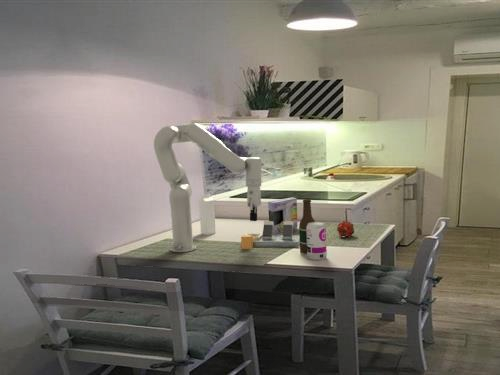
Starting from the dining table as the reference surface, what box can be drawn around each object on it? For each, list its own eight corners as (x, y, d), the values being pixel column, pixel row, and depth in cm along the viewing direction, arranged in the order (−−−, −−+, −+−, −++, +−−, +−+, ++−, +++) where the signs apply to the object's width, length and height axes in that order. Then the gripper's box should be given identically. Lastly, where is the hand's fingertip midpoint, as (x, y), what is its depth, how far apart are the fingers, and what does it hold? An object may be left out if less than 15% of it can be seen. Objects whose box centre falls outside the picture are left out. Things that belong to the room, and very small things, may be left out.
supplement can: (330, 257, 201) (329, 222, 200) (319, 261, 195) (318, 226, 194) (314, 254, 207) (313, 221, 205) (303, 258, 201) (302, 224, 199)
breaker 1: (271, 238, 228) (273, 221, 233) (261, 237, 229) (263, 221, 234) (272, 240, 230) (274, 223, 235) (262, 239, 231) (264, 223, 236)
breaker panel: (298, 247, 221) (297, 239, 221) (241, 246, 228) (240, 238, 228) (302, 240, 235) (302, 232, 234) (248, 239, 242) (248, 232, 241)
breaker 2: (291, 238, 225) (293, 221, 230) (281, 238, 227) (283, 221, 231) (292, 240, 227) (293, 223, 232) (282, 240, 228) (284, 223, 233)
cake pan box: (273, 234, 252) (272, 202, 250) (267, 233, 256) (265, 201, 254) (298, 228, 264) (297, 197, 262) (292, 227, 268) (291, 197, 266)
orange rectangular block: (250, 249, 222) (250, 236, 221) (241, 249, 223) (241, 236, 222) (253, 247, 226) (252, 234, 225) (244, 246, 227) (243, 234, 226)
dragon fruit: (348, 236, 245) (346, 245, 234) (334, 227, 246) (332, 235, 235) (357, 224, 242) (356, 232, 231) (343, 215, 243) (341, 222, 232)
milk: (215, 233, 262) (214, 194, 259) (207, 235, 258) (205, 195, 255) (209, 231, 266) (207, 193, 264) (200, 233, 262) (198, 194, 260)
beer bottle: (315, 249, 216) (314, 197, 213) (318, 253, 208) (316, 200, 205) (298, 250, 216) (297, 198, 213) (301, 254, 208) (299, 201, 205)
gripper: (257, 184, 216) (257, 223, 218) (264, 181, 231) (264, 218, 233) (242, 184, 218) (242, 223, 220) (249, 181, 233) (249, 217, 235)
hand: (253, 220), depth 226 cm, fingers closed
